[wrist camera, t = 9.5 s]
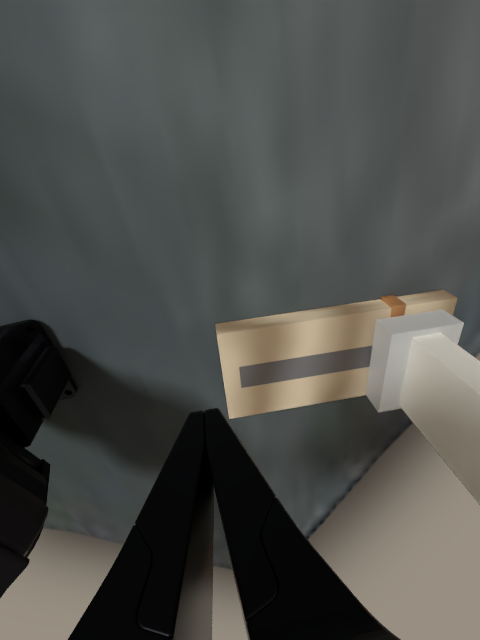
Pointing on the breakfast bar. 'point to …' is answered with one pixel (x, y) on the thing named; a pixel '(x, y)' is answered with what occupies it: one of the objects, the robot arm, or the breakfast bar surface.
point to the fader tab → (431, 386)
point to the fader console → (308, 352)
